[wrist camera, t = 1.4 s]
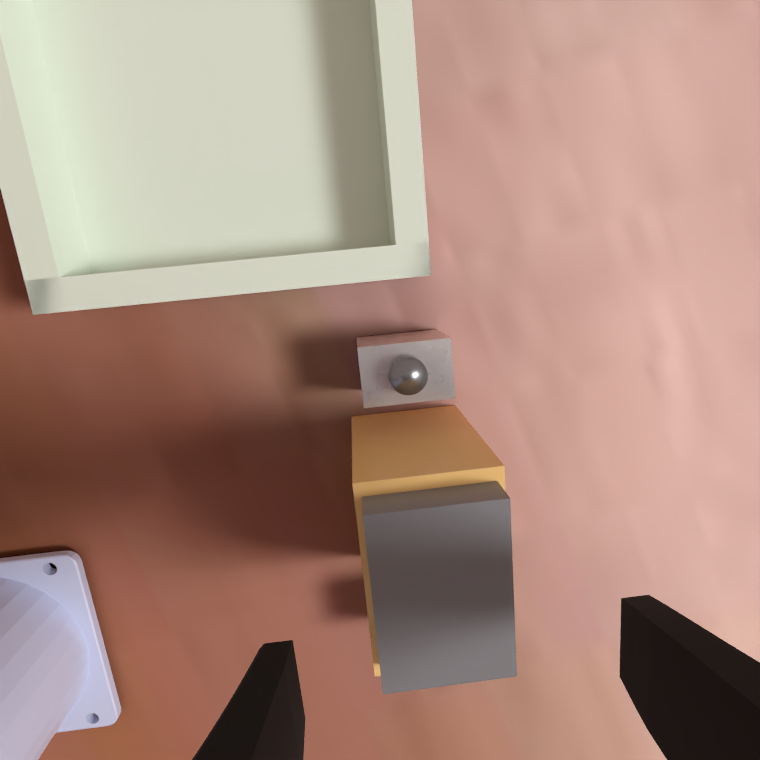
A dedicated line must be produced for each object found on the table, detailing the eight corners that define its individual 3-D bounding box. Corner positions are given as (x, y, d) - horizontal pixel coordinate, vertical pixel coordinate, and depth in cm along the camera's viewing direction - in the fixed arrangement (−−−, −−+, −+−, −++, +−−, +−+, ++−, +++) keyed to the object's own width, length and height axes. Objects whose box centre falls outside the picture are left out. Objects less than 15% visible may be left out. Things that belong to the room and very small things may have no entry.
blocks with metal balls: (386, 617, 20) (392, 676, 17) (356, 337, 17) (357, 350, 14) (456, 609, 20) (474, 665, 17) (437, 329, 17) (454, 339, 14)
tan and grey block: (367, 555, 19) (376, 707, 13) (351, 416, 18) (352, 501, 11) (463, 543, 20) (524, 687, 13) (454, 404, 18) (517, 481, 11)
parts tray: (80, 308, 16) (33, 314, 14) (-37, -186, 13) (-124, -289, 11) (419, 275, 17) (430, 275, 15) (382, -210, 14) (389, -314, 11)
